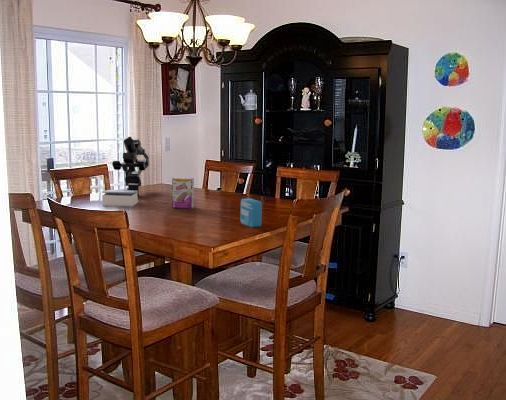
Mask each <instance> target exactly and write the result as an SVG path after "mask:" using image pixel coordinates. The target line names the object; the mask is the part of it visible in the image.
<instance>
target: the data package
mask: <svg viewBox="0 0 506 400" xmlns="http://www.w3.org/2000/svg"><path fill="white" fill-rule="evenodd" d="M262 206H263V204H262V202H261V201H260V200H257V199H254V198H249V197H248V198H241V199H240V210H239V211H240V213H239V215H240V216H239V217H240V224H242V225H244V226H247V227H250V228H260V227H261V226H262V214H263V213H262V211H263V209H262V208H263V207H262Z"/></svg>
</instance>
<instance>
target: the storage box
mask: <svg viewBox="0 0 506 400" xmlns="http://www.w3.org/2000/svg"><path fill="white" fill-rule="evenodd" d="M101 198H102V199H101V200H102V202H101V203H102V207H119V208H120V207H122V208H123V207H125V208H127V207H128V208H132V207H134V206H135V205H136V204H137V203H138V201H139V200H138V196H137V192H136V193H132V194H131V193H103V194H102V195H101Z"/></svg>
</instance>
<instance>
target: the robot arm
mask: <svg viewBox="0 0 506 400" xmlns="http://www.w3.org/2000/svg"><path fill="white" fill-rule="evenodd" d="M123 145H124V147H125V150H126V152H123V153H122V159H123V162H121V161H120V160H113V161H112V162H111V164H112V167H113V170H114V171H120V170H121V169H122V170H123V172H124V174H125V176H124V184H125V187H127V188H126V190H134V191H138V192H137V197H140V193H139V190H140V188H139V187H142V181H141V177H140V175H141V173H142V172H143V171H145V170H146V169H148V168H149V165H150V160H149V156H148V154H147V153H146V149H145V148H143V147H142V142H141V141H140V139H137V138H136V139H135V138H132V136H127V137H126V138H125V139H124V140H123ZM138 156H143V157H144V158H138Z"/></svg>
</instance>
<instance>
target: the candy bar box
mask: <svg viewBox="0 0 506 400" xmlns="http://www.w3.org/2000/svg"><path fill="white" fill-rule="evenodd" d="M194 184H195V181H194V178H193V177H178V176H174V177H172V179H171V209H189V210H190V209H191V210H192V209H194V195H195V194H194V192H195V191H194V189H195V188H194V186H195V185H194Z"/></svg>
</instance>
